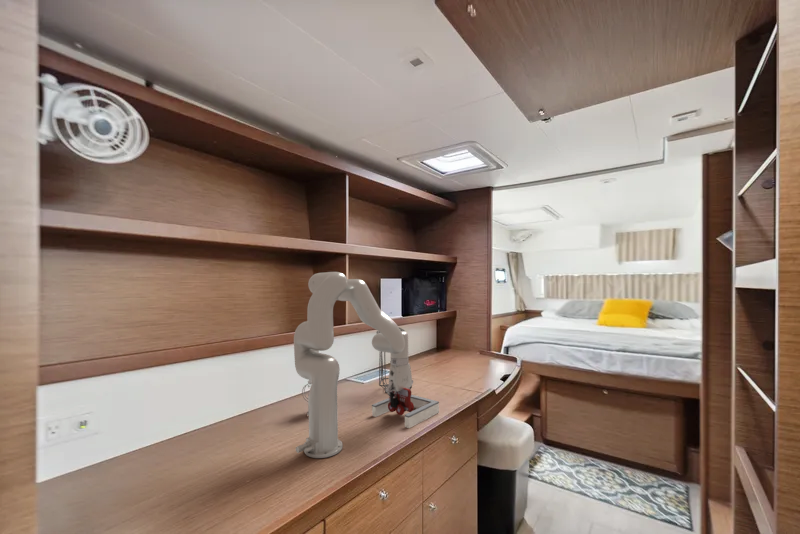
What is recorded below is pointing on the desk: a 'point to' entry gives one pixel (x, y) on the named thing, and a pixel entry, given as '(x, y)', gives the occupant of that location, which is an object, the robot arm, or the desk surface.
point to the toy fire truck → (402, 402)
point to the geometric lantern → (382, 368)
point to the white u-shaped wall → (423, 411)
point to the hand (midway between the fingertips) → (400, 404)
